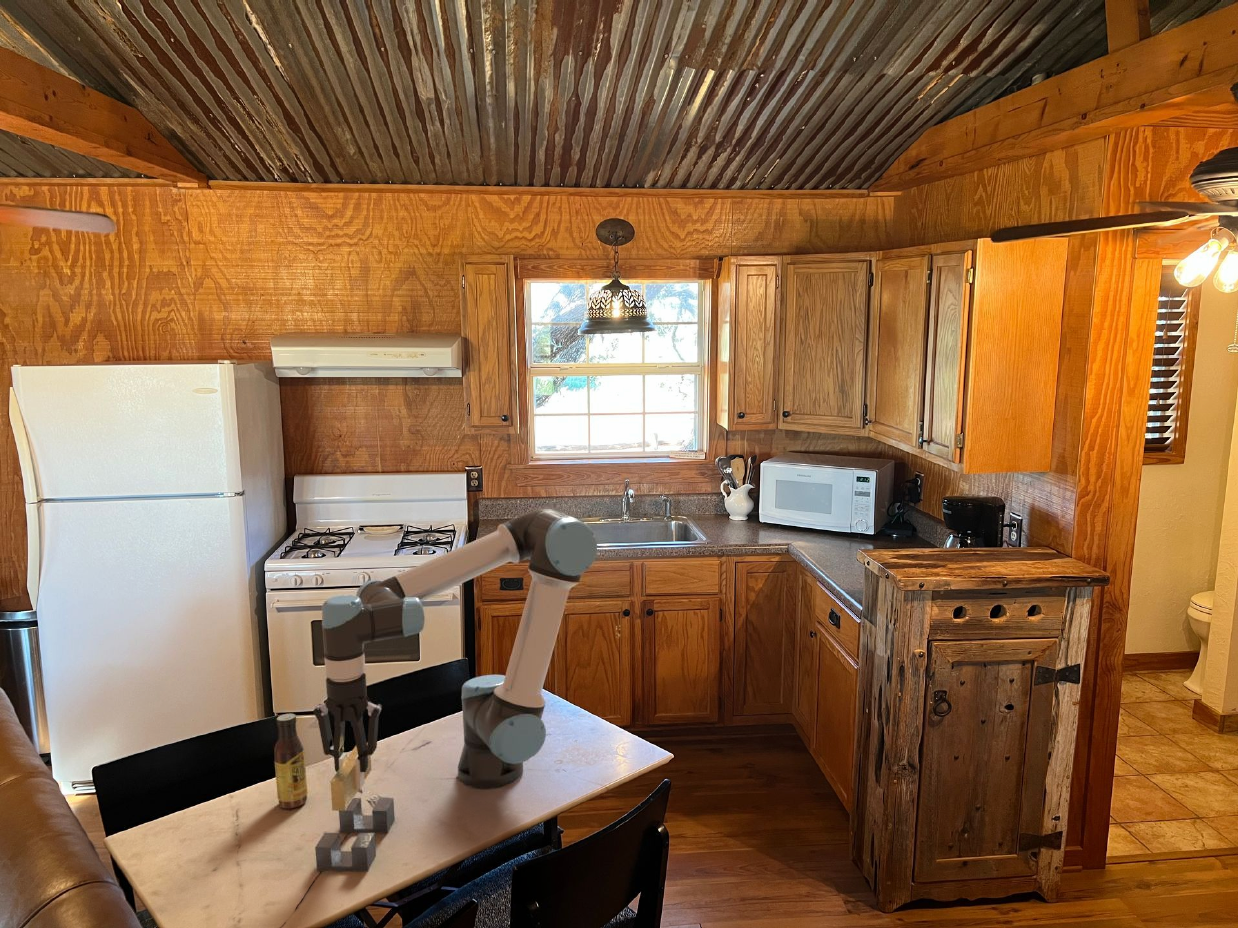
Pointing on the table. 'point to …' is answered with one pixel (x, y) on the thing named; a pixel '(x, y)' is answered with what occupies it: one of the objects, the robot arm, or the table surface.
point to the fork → (365, 791)
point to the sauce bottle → (290, 764)
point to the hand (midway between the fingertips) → (352, 785)
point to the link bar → (346, 782)
